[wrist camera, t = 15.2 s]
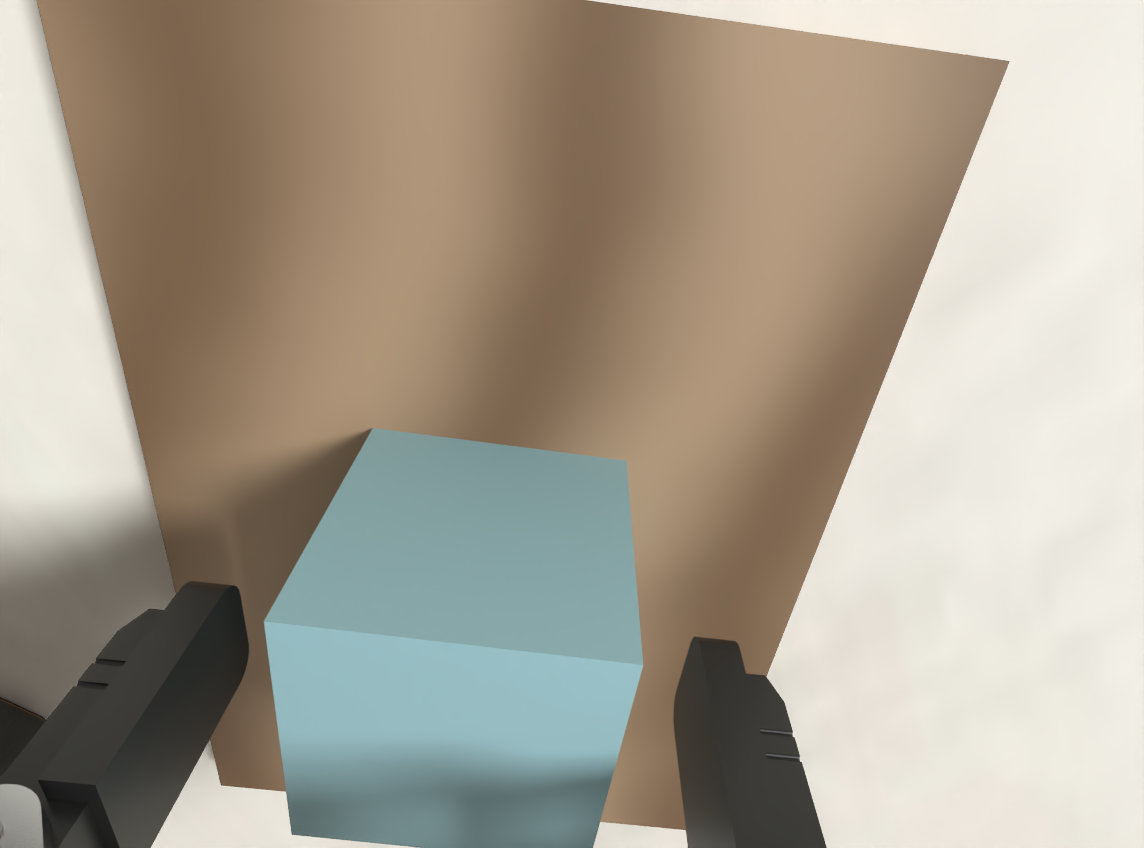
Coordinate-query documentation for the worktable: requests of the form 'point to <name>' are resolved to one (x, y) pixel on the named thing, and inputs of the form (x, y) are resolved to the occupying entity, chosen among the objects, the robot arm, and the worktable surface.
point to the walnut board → (508, 280)
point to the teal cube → (459, 647)
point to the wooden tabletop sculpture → (15, 732)
